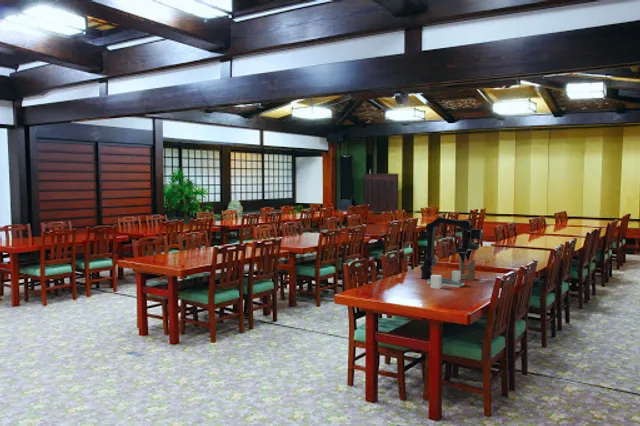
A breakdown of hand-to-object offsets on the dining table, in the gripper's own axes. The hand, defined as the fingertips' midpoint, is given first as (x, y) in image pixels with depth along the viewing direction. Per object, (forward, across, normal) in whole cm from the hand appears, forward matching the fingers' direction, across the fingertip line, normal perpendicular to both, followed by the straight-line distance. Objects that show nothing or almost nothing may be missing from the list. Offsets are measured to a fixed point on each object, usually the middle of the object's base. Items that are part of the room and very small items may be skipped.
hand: (465, 261), depth 355 cm
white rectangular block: (+15, -26, +10) cm, 32 cm away
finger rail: (+15, -12, +9) cm, 21 cm away
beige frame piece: (+15, +14, +4) cm, 21 cm away
